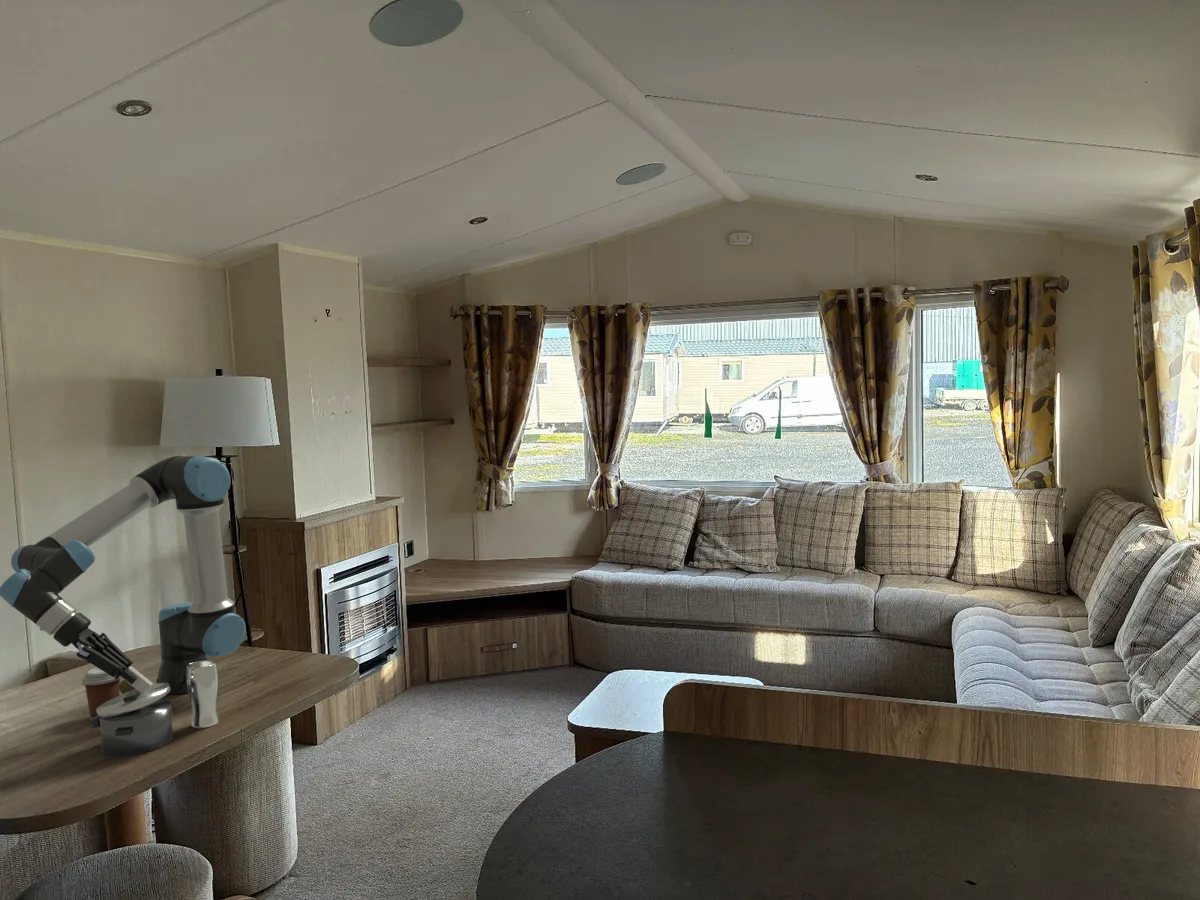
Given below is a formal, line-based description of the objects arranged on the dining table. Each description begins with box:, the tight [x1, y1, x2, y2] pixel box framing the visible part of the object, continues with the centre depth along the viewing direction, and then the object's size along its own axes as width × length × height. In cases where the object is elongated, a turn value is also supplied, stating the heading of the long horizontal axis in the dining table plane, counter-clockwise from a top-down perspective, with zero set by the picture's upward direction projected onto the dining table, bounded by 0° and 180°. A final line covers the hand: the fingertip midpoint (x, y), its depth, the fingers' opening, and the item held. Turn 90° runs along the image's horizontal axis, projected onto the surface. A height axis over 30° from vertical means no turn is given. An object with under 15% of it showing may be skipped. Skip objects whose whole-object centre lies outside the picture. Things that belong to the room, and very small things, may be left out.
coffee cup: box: [81, 667, 122, 721], centre depth 229 cm, size 9×9×12 cm
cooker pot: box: [91, 698, 174, 757], centre depth 210 cm, size 16×19×8 cm
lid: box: [92, 683, 170, 718], centre depth 210 cm, size 16×16×2 cm
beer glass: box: [187, 659, 219, 729], centre depth 221 cm, size 7×7×15 cm
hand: (147, 688), depth 210 cm, fingers closed
